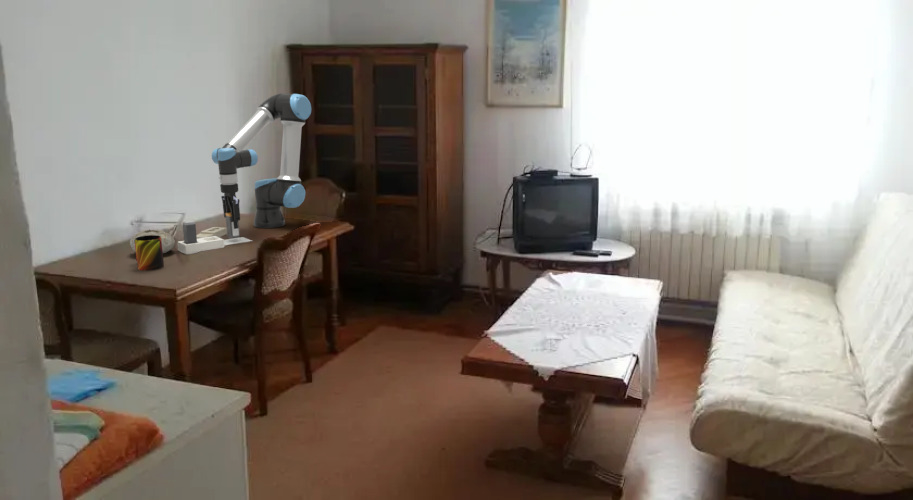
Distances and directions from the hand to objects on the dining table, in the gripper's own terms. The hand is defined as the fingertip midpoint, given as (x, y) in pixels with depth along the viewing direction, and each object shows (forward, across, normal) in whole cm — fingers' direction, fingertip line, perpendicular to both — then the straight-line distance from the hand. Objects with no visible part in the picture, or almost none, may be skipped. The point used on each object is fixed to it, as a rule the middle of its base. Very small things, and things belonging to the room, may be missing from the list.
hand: (233, 234), depth 351 cm
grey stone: (+3, -2, -36) cm, 36 cm away
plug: (+1, 0, 0) cm, 1 cm away
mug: (+3, +18, -46) cm, 49 cm away
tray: (+3, 0, -1) cm, 3 cm away
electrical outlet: (+4, -13, -6) cm, 15 cm away
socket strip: (+3, +4, -17) cm, 18 cm away
